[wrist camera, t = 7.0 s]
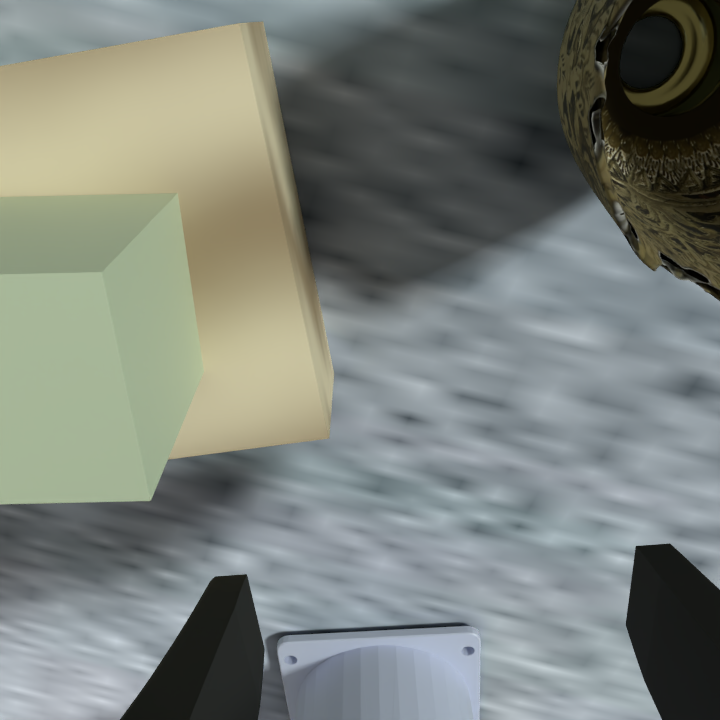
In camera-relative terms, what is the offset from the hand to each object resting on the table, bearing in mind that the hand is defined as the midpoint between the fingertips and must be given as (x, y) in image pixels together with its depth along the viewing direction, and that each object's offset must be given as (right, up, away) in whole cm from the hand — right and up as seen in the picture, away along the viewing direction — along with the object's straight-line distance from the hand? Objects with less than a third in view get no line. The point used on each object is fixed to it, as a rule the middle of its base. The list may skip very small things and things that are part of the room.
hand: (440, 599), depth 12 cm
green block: (-8, +6, +3) cm, 10 cm away
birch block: (-8, +8, +7) cm, 13 cm away
